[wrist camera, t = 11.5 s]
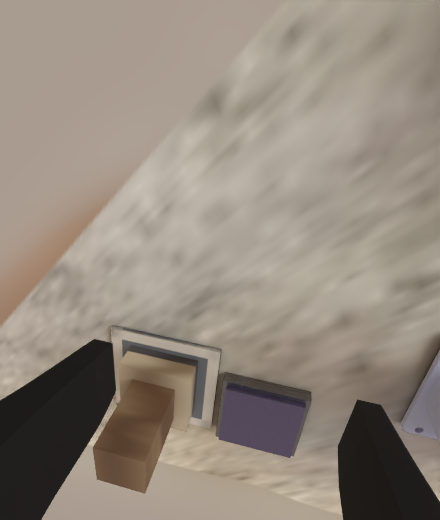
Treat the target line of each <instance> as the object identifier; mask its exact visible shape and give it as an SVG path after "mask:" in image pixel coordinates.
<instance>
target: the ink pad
mask: <svg viewBox="0 0 440 520" xmlns="http://www.w3.org/2000/svg"><path fill="white" fill-rule="evenodd" d="M310 404H311V392H308V391H304V390H299V389H295V388H291V387H286V386H282V385H278V384H274V383H269V382H265V381H261V380H256V379H252V378H248V377H243V376H239V375H235V374H230V373H226V372H225V376H224V380H223V386H222V394H221V401H220V408H219V415H218V422H217V430H216V436H217V437H219V440H223V441H227V442H231V443H235V444H239V445H242V446H246V447H250V448H254V449H258V450H262V451H265V452H269V453H273V454H277V455H281V456H285V457H288V458H290V457H291V456H294V453H295V450H296V447H297V444H298V441H299V438H300V435H301V432H302V429H303V426H304V423H305V420H306V417H307V413H308V410H309V407H310Z"/></svg>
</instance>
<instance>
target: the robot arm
mask: <svg viewBox="0 0 440 520" xmlns="http://www.w3.org/2000/svg"><path fill="white" fill-rule="evenodd" d="M115 392H116V382H115V368H114V354H113V343H109V342H105V341H100V340H96V339H94V340H92V341H91V342H89V343H88V344H86V345H85V346H83V347H82V348H80V349H79V350H77V351H76V352H74V353H73V354H71V355H70V356H68V357H67V358H65V359H64V360H62V361H61V362H59V363H58V364H56V365H55V366H53V367H52V368H51V369H49V370H48V371H46V372H44V373H43V374H41V375H40V376H38V377H37V378H35V379H34V380H32V381H31V382H29V383H28V384H26V385H25V386H23V387H21V388H20V389H18V390H17V391H15V392H13V393H12V394H10V395H9V396H7V397H5V398H4V399H2V400H0V520H41V519H42V517H43V515H44V514H45V512H46V510H47V508H48V507H49V505H50V504H51V502H52V500H53V498H54V497H55V495H56V494H57V492H58V490H59V489H60V487H61V486H62V484H63V482H64V481H65V479H66V478H67V476H68V475H69V473H70V471H71V470H72V468H73V467H74V465H75V463H76V462H77V460H78V459H79V457H80V455H81V454H82V452H83V451H84V449H85V448H86V446H87V444H88V443H89V441H90V439H91V438H92V436H93V435H94V433H95V431H96V430H97V428H98V426H99V425H100V423H101V421H102V419H103V417H104V415H105V413H106V411H107V409H108V407H109V405H110V403H111V401H112V398H113V396H114V394H115ZM401 426H402V428H403V430H404V431H405V432H408V433H412V434H416V435H420V436H424V437H428V438H433V439H437V440H438V441H439V444H440V350H439V352H438V354H437V356H436V358H435V359H434V361H433V363H432V365H431V367H430V369H429V371H428V373H427V374H426V376H425V378H424V380H423V382H422V384H421V386H420V388H419V389H418V391H417V393H416V395H415V397H414V399H413V401H412V403H411V405H410V406H409V408H408V410H407V412H406V414H405V416H404V418H403V420H402V421H401ZM338 473H339V491H340V499H341V506H342V514H343V520H440V501H439V500H438V498H437V497H436V495H435V494H434V492H433V490H432V489H431V487H430V486H429V484H428V483H427V481H426V479H425V478H424V476H423V475H422V473H421V471H420V470H419V468H418V467H417V465H416V463H415V462H414V460H413V458H412V457H411V455H410V453H409V452H408V450H407V448H406V447H405V445H404V443H403V442H402V440H401V438H400V437H399V435H398V433H397V431H396V430H395V428H394V426H393V425H392V423H391V421H390V419H389V418H388V416H387V414H386V413H385V411H384V409H383V408H382V406H381V405H378V404H374V403H369V402H365V401H361V400H357V402H356V404H355V407H354V409H353V411H352V414H351V416H350V419H349V421H348V423H347V426H346V428H345V431H344V433H343V435H342V438H341V440H340V443H339V445H338Z"/></svg>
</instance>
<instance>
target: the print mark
mask: <svg viewBox="0 0 440 520" xmlns="http://www.w3.org/2000/svg"><path fill="white" fill-rule="evenodd" d="M111 340H112V343H113V354H114V368H115V382H116V392H115V393H116V405H118V404H119V402H120V385H119V369H118V365H119V363H120V362H121V360H122V359H123V357H124V356H125V354H126V353H127V351H128V350H129V348H130V347H131V345H133V346H137V347H141V348H146V349H150V350H154V351H159V352H163V353H167V354H172V355H176V356H180V357H185V358H189V359H193V360H198V370H197V381H196V392H195V404H194V410H193V413H192V416H191V419H190V422H189V423H190V424H194V425H197V426H201V427H205V428H209V429H211V426H212V419H213V411H214V403H215V396H216V388H217V380H218V372H219V364H220V356H221V349H216V348H212V347H207V346H203V345H198V344H194V343H189V342H185V341H180V340H176V339H171V338H167V337H162V336H158V335H153V334H149V333H144V332H140V331H135V330H131V329H126V328H122V327H117V326H112V327H111Z"/></svg>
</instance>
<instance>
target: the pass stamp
mask: <svg viewBox="0 0 440 520" xmlns="http://www.w3.org/2000/svg"><path fill="white" fill-rule="evenodd" d="M118 369H119V385H120V402H119V404H118V405H117V407H116V409H115V411H114V412H113V414H112V416H111V417H110V419H109V421H108V423H107V424H106V426H105V428H104V430H103V431H102V433H101V435H100V436H99V438H98V440H97V442H96V443H95V445H94V447H93V453H94V460H95V468H96V475H97V479H98V480H101V481H104V482H108V483H111V484H115V485H118V486H122V487H125V488H128V489H131V490H135V491H139V492H142V493H145V492H146V490H147V487H148V484H149V482H150V479H151V477H152V474H153V471H154V469H155V466H156V464H157V461H158V458H159V456H160V453H161V450H162V448H163V445H164V443H165V440H166V437H167V435H168V432H169V430H170V428H174V429H178V430H181V431H185V432H186V431H187V428H188V425H189V422H190V419H191V416H192V413H193V410H194V404H195V392H196V381H197V370H198V360H193V359H189V358H185V357H180V356H176V355H172V354H167V353H163V352H159V351H154V350H150V349H146V348H141V347H137V346H133V345H131V347H130V348H129V350H128V351H127V353H126V354H125V356H124V357H123V359H122V360H121V362H120V363H119V365H118Z"/></svg>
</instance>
